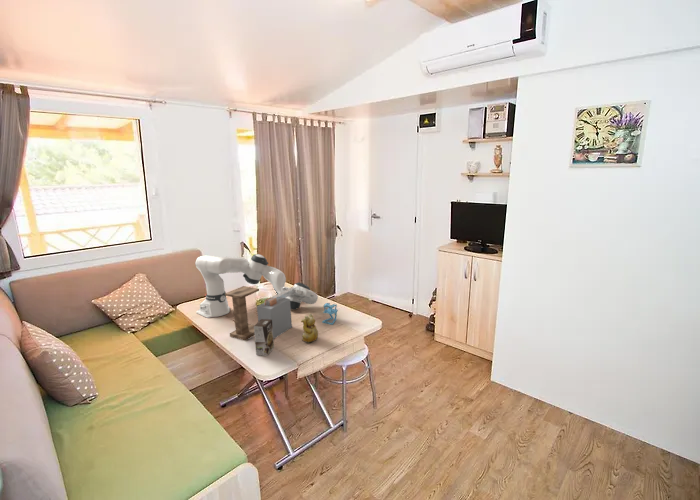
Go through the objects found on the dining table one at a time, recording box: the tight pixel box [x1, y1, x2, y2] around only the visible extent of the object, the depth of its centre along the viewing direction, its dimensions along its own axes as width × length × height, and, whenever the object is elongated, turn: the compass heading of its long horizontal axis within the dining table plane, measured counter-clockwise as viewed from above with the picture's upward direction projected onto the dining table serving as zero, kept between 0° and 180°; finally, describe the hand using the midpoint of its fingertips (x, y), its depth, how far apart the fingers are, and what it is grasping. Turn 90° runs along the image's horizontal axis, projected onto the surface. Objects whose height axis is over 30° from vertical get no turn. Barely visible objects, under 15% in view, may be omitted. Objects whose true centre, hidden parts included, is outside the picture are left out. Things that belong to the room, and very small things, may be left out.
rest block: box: [256, 298, 293, 339], centre depth 205 cm, size 10×17×18 cm, turn 152°
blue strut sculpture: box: [321, 302, 339, 326], centre depth 217 cm, size 8×8×12 cm
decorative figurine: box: [300, 312, 319, 344], centre depth 193 cm, size 10×8×15 cm
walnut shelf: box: [225, 285, 260, 342], centre depth 202 cm, size 12×14×26 cm
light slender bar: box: [264, 286, 295, 306], centre depth 208 cm, size 4×24×3 cm, turn 152°
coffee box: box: [253, 319, 275, 356], centre depth 183 cm, size 9×6×16 cm
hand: (289, 289), depth 215 cm, fingers open, 8 cm apart
